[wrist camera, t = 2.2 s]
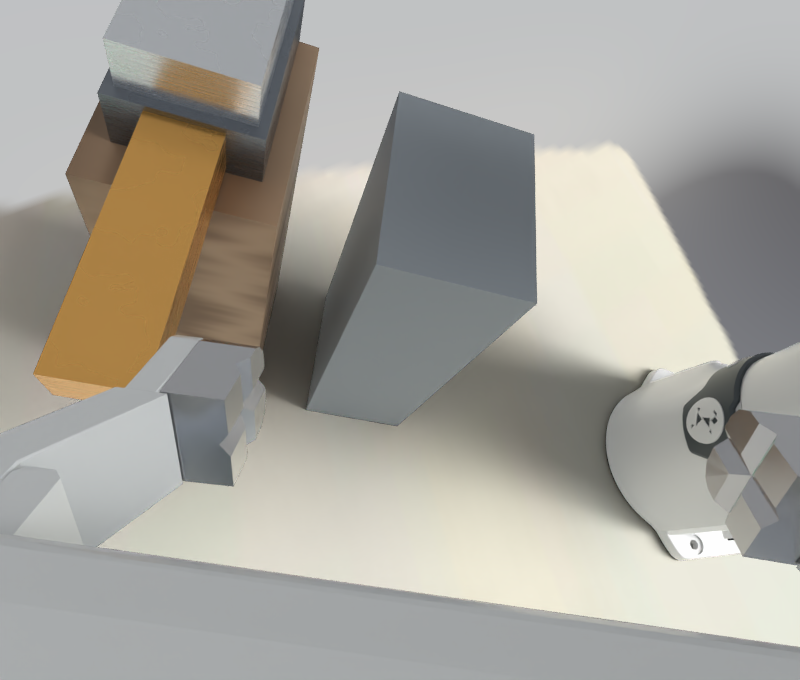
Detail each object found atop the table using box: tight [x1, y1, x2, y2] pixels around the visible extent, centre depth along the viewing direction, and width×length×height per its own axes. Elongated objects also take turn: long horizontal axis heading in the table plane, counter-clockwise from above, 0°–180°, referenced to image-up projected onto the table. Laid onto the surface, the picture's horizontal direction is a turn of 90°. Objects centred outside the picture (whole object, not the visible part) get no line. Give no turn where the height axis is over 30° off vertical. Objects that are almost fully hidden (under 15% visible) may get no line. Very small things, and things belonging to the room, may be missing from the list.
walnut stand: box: [66, 42, 319, 351], centre depth 35 cm, size 8×11×25 cm
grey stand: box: [306, 92, 537, 426], centre depth 38 cm, size 8×11×24 cm
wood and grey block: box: [33, 0, 305, 400], centre depth 20 cm, size 6×20×4 cm, turn 174°
